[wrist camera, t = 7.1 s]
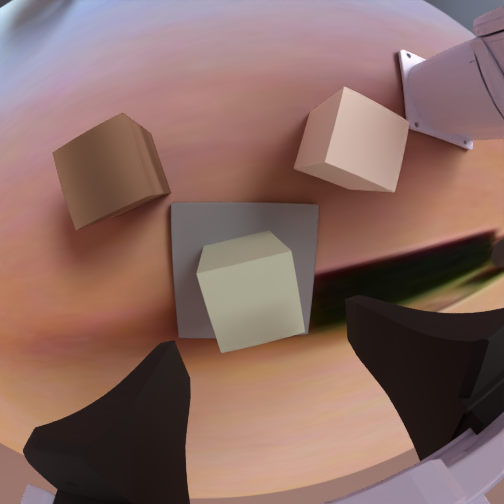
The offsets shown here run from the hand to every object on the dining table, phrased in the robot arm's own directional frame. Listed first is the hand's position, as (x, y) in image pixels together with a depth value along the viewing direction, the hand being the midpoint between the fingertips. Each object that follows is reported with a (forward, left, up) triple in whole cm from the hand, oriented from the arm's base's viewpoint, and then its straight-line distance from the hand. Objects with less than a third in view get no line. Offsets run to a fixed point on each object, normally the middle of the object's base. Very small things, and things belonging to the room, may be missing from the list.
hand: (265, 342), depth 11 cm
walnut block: (+8, -7, -9) cm, 14 cm away
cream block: (-6, -9, -9) cm, 14 cm away
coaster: (0, 0, -9) cm, 9 cm away
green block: (0, 0, -9) cm, 9 cm away
